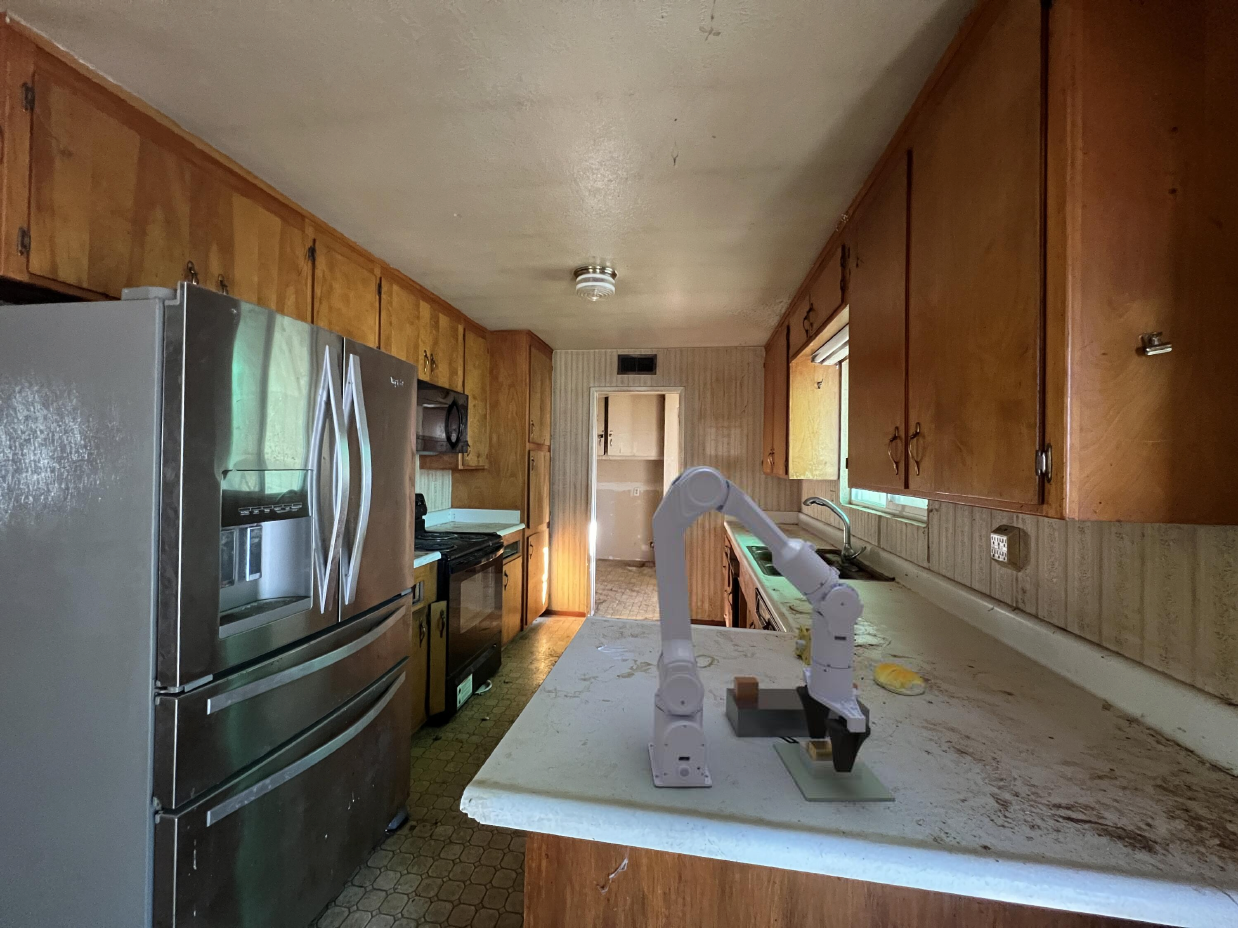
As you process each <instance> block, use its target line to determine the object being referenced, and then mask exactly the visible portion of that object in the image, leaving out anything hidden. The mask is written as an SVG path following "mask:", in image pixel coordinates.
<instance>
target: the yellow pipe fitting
mask: <svg viewBox="0 0 1238 928" xmlns="http://www.w3.org/2000/svg"><path fill="white" fill-rule="evenodd" d="M794 652H795V655H797V656H801V657H802V661H803V663H804V664H805V665H806V666H807V665H808V666H810V661H811V628H810V629H809V630H808V631H807V629H806V627H804V626H802V625H799V628H798V631H797V639H796V641H795V648H794Z"/></svg>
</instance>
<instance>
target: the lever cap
mask: <svg viewBox="0 0 1238 928" xmlns="http://www.w3.org/2000/svg"><path fill="white" fill-rule="evenodd" d="M798 742H799V759H800V760H801V762H802V763H803V765H804V766H805V768H806V769H807V771H808V772H809V774H810V775H811V777H812V778H813V779H862V761H863V760H862V759H861V760H862V761H861V760H860V758H861V757H860V756H859V755H858V756H859V757H860V758H859V757H858V756H856V759H855V762H854V765H853V768H852V771H851V772H836V770H835V769H834V765H833V758H832V746H831V741H829V740H818V739H811V740H808V741H798Z"/></svg>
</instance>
